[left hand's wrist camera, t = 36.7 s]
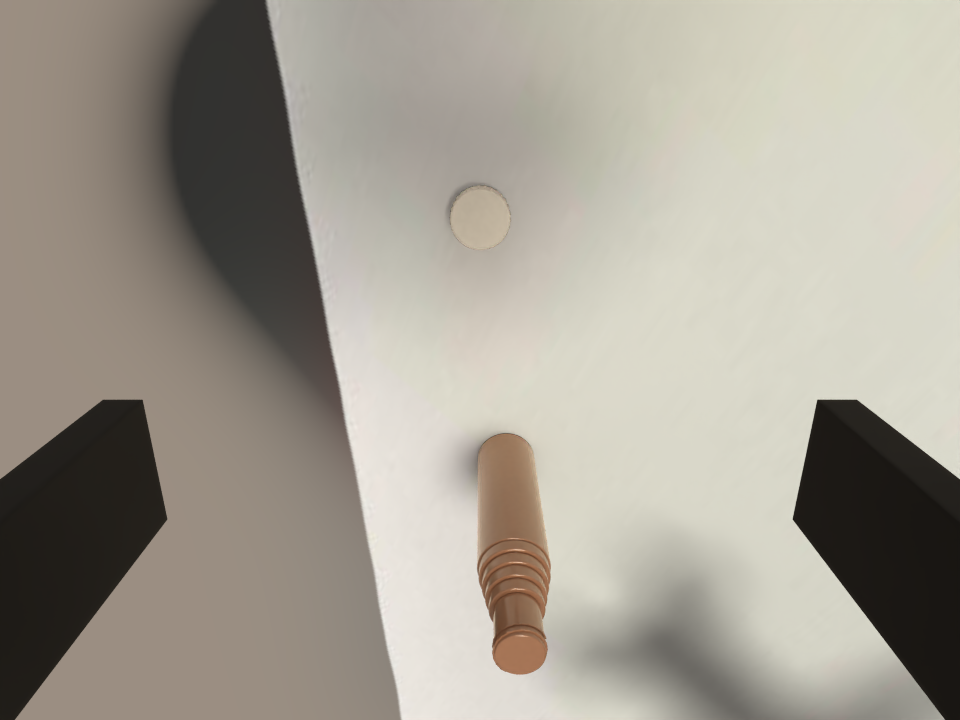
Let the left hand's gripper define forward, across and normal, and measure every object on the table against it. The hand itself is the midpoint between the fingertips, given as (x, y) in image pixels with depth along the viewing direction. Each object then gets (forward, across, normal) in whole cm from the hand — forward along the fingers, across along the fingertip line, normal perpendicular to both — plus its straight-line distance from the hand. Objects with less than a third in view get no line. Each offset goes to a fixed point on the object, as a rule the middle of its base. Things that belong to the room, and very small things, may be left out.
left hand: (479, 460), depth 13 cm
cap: (+30, 0, 0) cm, 30 cm away
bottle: (+32, +2, -18) cm, 37 cm away
